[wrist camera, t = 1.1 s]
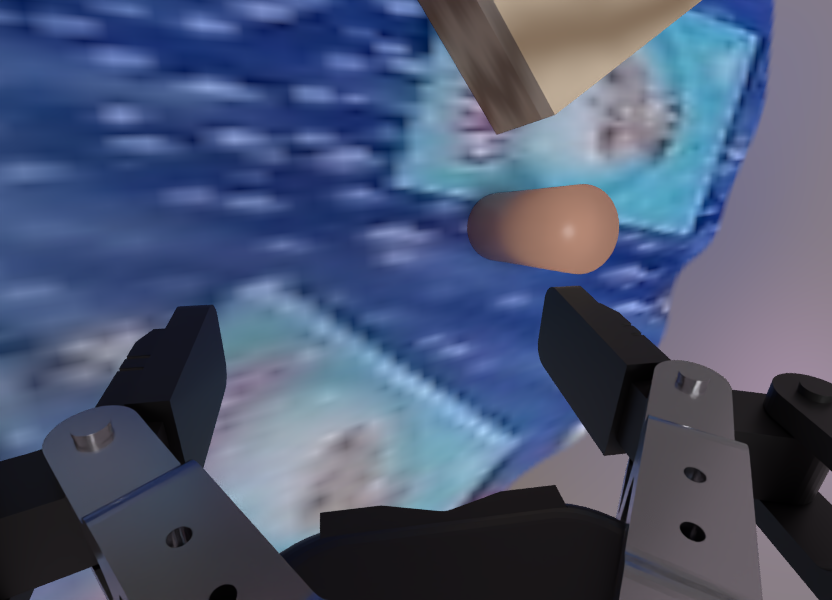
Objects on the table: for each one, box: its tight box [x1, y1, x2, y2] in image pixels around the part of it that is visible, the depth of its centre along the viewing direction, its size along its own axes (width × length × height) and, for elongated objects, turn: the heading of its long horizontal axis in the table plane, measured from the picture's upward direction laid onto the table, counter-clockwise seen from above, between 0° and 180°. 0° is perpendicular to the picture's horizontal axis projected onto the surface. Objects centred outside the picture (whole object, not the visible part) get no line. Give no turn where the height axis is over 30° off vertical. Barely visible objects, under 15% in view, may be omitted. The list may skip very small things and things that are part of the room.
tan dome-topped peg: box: [467, 184, 619, 274], centre depth 36 cm, size 5×5×11 cm
